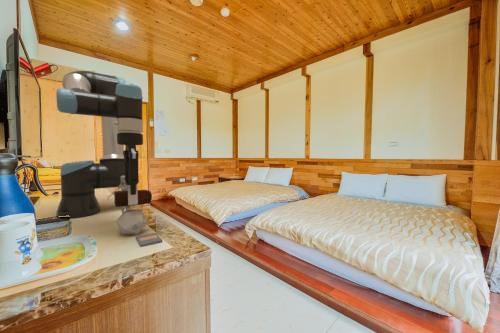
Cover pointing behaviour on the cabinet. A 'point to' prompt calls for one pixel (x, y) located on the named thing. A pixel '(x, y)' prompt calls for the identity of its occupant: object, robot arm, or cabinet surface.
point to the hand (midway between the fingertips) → (131, 203)
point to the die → (131, 221)
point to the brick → (122, 198)
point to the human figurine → (123, 188)
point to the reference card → (148, 239)
